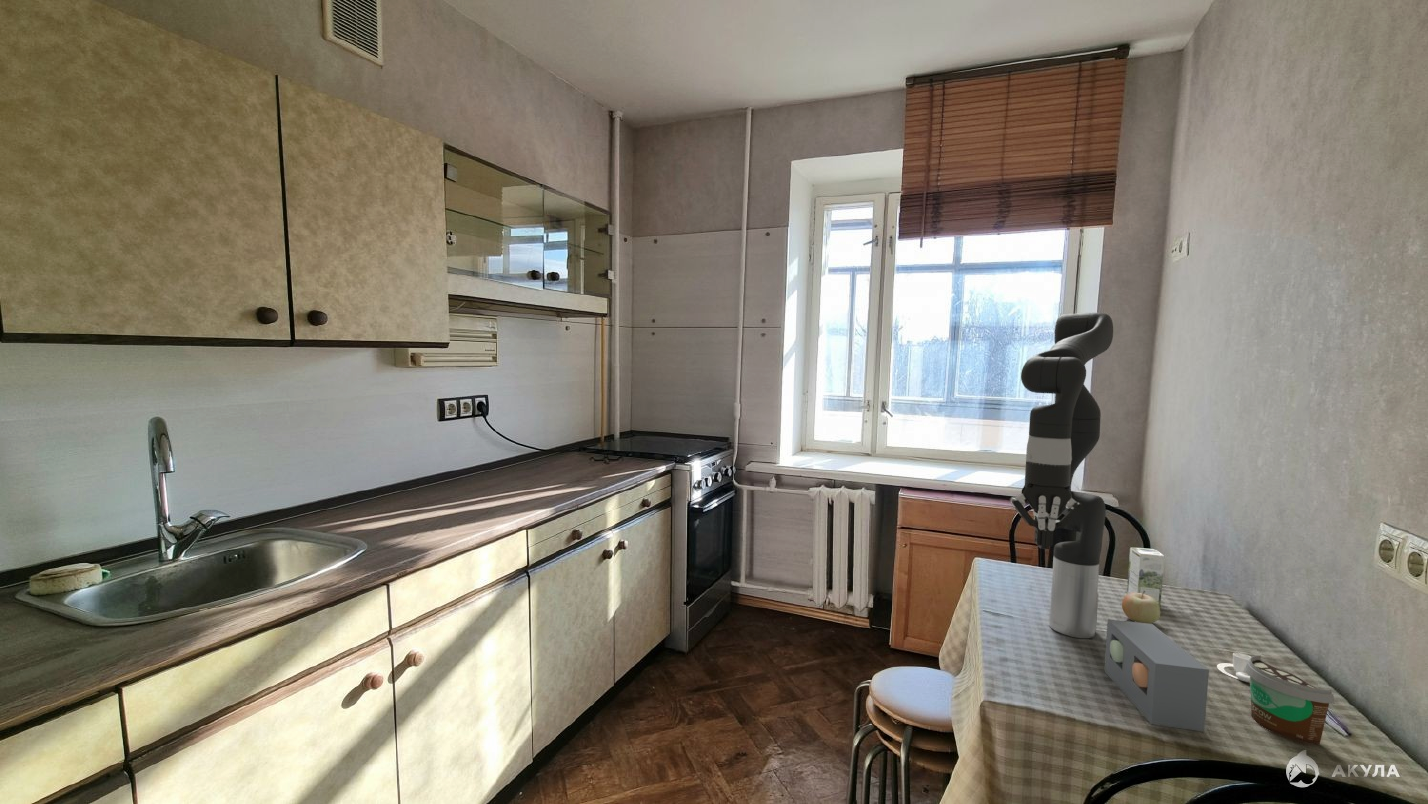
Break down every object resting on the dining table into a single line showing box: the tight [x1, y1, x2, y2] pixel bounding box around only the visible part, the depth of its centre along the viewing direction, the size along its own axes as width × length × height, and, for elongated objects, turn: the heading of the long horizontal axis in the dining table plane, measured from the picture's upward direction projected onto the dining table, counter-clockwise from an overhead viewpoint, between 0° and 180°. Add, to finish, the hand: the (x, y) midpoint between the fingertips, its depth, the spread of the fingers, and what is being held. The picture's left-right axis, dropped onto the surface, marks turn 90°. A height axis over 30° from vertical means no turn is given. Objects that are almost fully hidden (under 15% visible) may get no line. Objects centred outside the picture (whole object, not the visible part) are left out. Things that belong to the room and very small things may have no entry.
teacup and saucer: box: [1216, 652, 1252, 683], centre depth 116 cm, size 9×8×4 cm
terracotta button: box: [1132, 663, 1149, 687], centre depth 102 cm, size 4×4×4 cm
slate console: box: [1103, 618, 1210, 732], centre depth 106 cm, size 8×18×11 cm, turn 167°
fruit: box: [1121, 591, 1161, 624], centre depth 141 cm, size 8×7×8 cm
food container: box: [1245, 654, 1335, 745], centre depth 99 cm, size 12×6×10 cm, turn 5°
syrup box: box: [1126, 546, 1166, 608], centre depth 152 cm, size 6×6×14 cm
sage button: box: [1110, 640, 1124, 663], centre depth 111 cm, size 4×4×4 cm
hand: (1043, 547), depth 110 cm, fingers closed
